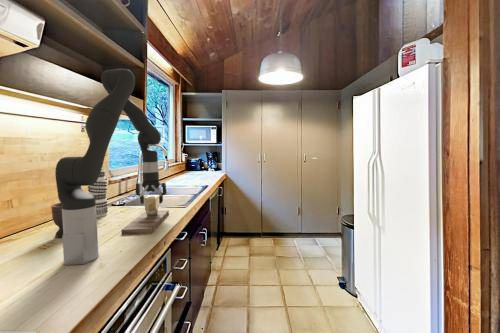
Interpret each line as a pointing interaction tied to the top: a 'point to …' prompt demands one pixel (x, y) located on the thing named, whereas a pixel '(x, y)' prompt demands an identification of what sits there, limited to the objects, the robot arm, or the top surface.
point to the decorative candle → (100, 194)
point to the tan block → (151, 203)
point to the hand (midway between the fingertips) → (151, 203)
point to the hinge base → (145, 222)
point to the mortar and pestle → (58, 218)
